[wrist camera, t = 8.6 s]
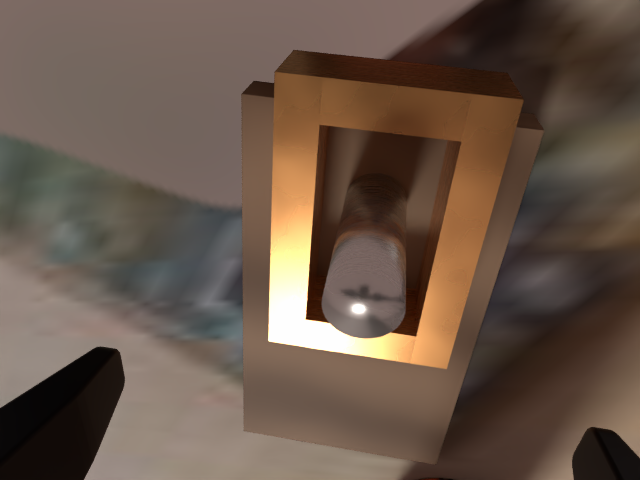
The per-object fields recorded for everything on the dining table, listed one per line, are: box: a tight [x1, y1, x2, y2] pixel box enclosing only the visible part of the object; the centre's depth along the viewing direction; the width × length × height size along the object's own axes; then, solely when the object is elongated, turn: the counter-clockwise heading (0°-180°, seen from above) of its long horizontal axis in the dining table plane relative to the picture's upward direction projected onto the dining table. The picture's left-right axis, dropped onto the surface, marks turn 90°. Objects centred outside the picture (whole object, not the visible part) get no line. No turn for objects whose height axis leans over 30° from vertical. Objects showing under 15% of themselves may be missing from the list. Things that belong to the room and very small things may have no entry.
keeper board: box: [241, 81, 544, 465], centre depth 20 cm, size 16×9×2 cm, turn 176°
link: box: [269, 50, 524, 369], centre depth 16 cm, size 9×6×2 cm, turn 176°
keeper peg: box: [322, 173, 407, 339], centre depth 15 cm, size 2×2×6 cm
